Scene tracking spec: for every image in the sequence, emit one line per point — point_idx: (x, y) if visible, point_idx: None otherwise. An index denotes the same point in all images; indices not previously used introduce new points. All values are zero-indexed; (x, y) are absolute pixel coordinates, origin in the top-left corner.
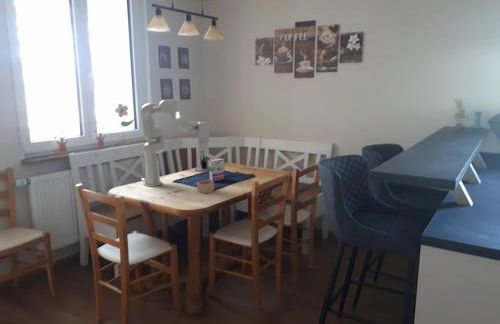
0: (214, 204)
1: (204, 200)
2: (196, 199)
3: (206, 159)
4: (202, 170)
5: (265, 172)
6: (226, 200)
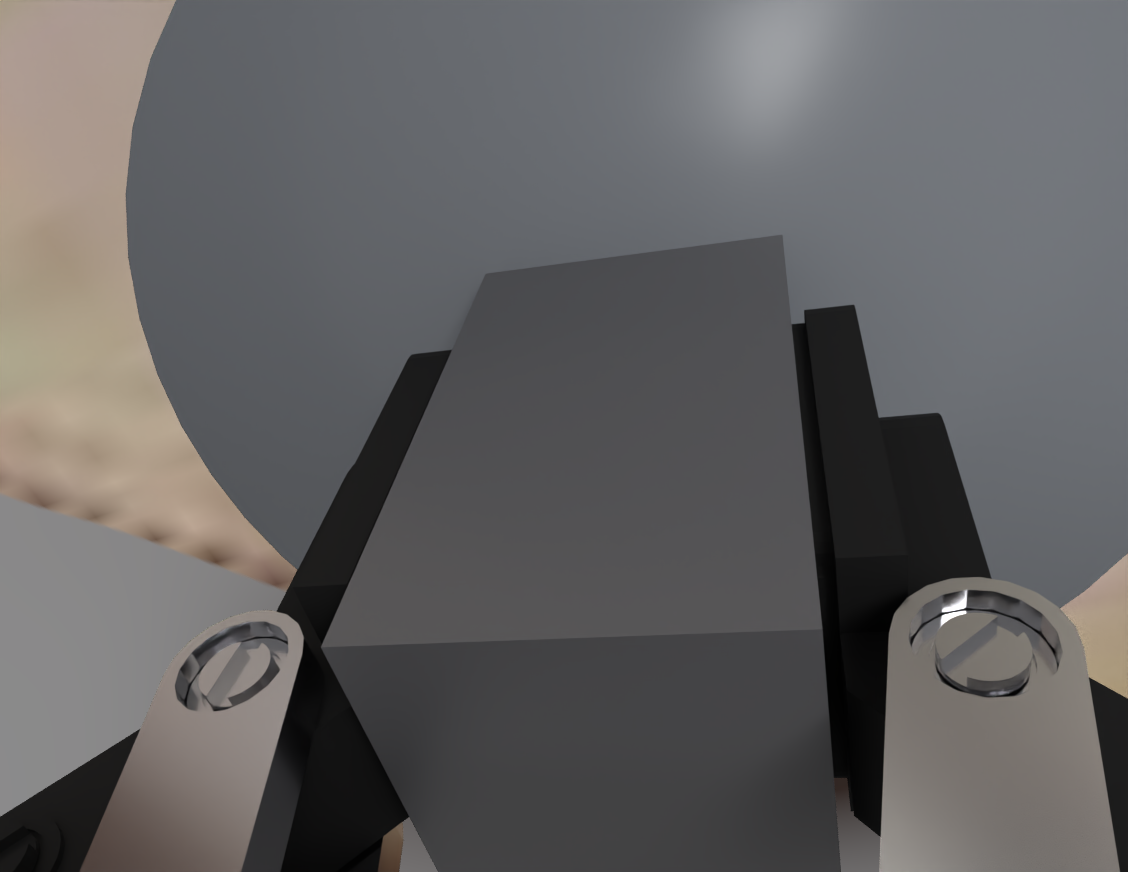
0: (30, 495)
1: (81, 298)
2: (32, 129)
3: (734, 867)
4: (216, 423)
5: None
6: (272, 584)
